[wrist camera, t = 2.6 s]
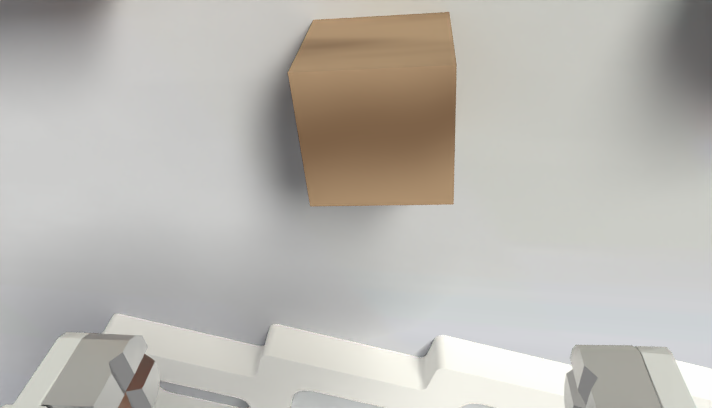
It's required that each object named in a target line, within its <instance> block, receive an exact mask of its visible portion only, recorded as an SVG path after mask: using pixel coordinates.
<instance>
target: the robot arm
mask: <svg viewBox="0 0 712 408" xmlns="http://www.w3.org/2000/svg"><path fill="white" fill-rule="evenodd" d="M147 348H148V345H147V343H146V342H145V340H144V338H143V336H140V335H121V334H102V333H79V332H66V333H64V334H63V335H62V336H60V337H59V338H58V339H57V340H56V342H55V343H54V345H53V346H52V348H51V349H50V351H49V352H48V354H47V355H46V356H45V358H44V359H43V361H42V362H41V364H40V365H39V367H38V368H37V370H36V371H35V373H34V374H33V376H32V377H31V379H30V380H29V382H28V383H27V385H26V386H25V388H24V389H23V391H22V392H21V394H20V395H19V397H18V398H17V399H16V401H15V402H14V404H6V405H4V406H3V407H2V408H153V405H154V403H155V400H156V398H157V396H158V391H159V384H160V374H159V368H158V366H157V364H156V362H155V360H153V359H152V358H150V357H149V356H147V355H146V354H145V352H146V350H147ZM570 360H571V364H572V368H573V369H572V370H571V371H569V372H568V373H566V378H565V383H564V404H565V408H696V405H695V403H694V401H693V399H692V397H691V394H690V392H689V390H688V388H687V385H686V383H685V381H684V379H683V376H682V374H681V372H680V370H679V367H678V365H677V363H676V361H675V359H674V356H673V354H672V352H671V351H670V350H669V349H668V348H667V347H645V346H635V347H634V346H630V345H575V346H574V347H573V348H572V352H571V356H570Z"/></svg>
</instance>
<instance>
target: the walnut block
mask: <svg viewBox="0 0 712 408" xmlns="http://www.w3.org/2000/svg"><path fill="white" fill-rule="evenodd" d="M288 77H289V83H290V89H291V95H292V101H293V107H294V113H295V118H296V124H297V130H298V136H299V142H300V148H301V154H302V160H303V166H304V172H305V178H306V184H307V190H308V196H309V202H310V206H368V205H439V204H453V201H454V155H455V109H456V58H455V51H454V43H453V36H452V29H451V21H450V14H449V12H444V13H426V14H409V15H391V16H374V17H356V18H339V19H321V20H313V22H312V24H311V26H310V28H309V30H308V32H307V34H306V36H305V38H304V40H303V42H302V44H301V47H300V49H299V51H298V53H297V55H296V57H295V59H294V61H293V63H292V65H291V67H290V69H289V71H288Z"/></svg>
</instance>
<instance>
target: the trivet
mask: <svg viewBox="0 0 712 408" xmlns="http://www.w3.org/2000/svg"><path fill="white" fill-rule="evenodd" d="M102 334H121V335H140V336H143V338H144V340H145V342H146V343H147V345H148V348H147V350H146V352H145V354H146V355H147V356H149V357H150V358H152V359H153V360H155V362H156V364H157V366H158V368H159V374H160V381H163V382H168V383H172V384H177V385H181V386H186V387H190V388H195V389H199V390H204V391H208V392H213V393H217V394H222V395H226V396H231V397H235V398H239V399H242V400H244V401H245V402H247V403H248V405H249V406H250V407H247V408H290V407H291V404H292V400H293V397H294V395H295V394H296V393H297V392H299V391H313V392H318V393H322V394H327V395H331V396H335V397H340V398H344V399H349V400H353V401H358V402H362V403H366V404H371V405H375V406H380V407H384V408H461V407H462V406H464V405H467V404H474V403H475V404H482V405H486V406H491V407H495V408H565V404H564V383H565V378H566V373H568V372H569V371H571V370H572V369H573V368H572V365H568V364H564V363H560V362H556V361H551V360H547V359H543V358H539V357H534V356H530V355H526V354H522V353H517V352H513V351H509V350H505V349H501V348H496V347H492V346H488V345H484V344H479V343H475V342H471V341H467V340H462V339H458V338H454V337H450V336H445V335H439V336H437V337H436V338H435V339H434V341H433V343H432V345H431V347H430V349H429V351H428V353H427V355H425V356H423V357H417V356H412V355H408V354H404V353H399V352H395V351H391V350H387V349H382V348H378V347H374V346H369V345H365V344H361V343H357V342H352V341H348V340H344V339H339V338H335V337H331V336H326V335H322V334H318V333H314V332H309V331H305V330H301V329H296V328H292V327H288V326H283V325H279V324H273V325H271V326H270V328H269V332H268V335H267V338H266V342H265V345H263V346H258V345H254V344H249V343H245V342H241V341H236V340H232V339H228V338H223V337H219V336H215V335H210V334H206V333H201V332H197V331H193V330H188V329H184V328H180V327H175V326H171V325H167V324H162V323H158V322H154V321H149V320H145V319H141V318H136V317H132V316H127V315H123V314H114V315H113V316H112V318H111V320H110V321H109V323H108V325H107V326H106V328H105V330H104V331H103V333H102ZM675 361H676V363H677V365H678V367H679V370H680V372H681V374H682V376H683V379H684V381H685V383H686V385H687V388H688V390H689V392H690V394H691V397H692V399H693V401H694V403H695V405H696V408H712V369H710V368H706V367H702V366H697V365H693V364H689V363H685V362H681V361H677V360H675ZM153 408H240V407H235V406H231V405H226V404H222V403H217V402H213V401H208V400H204V399H199V398H195V397H190V396H186V395H181V394H177V393H172V392H168V391H166V390H164V389H162V388H161V387H160V386H159V391H158V396H157V398H156V400H155V403H154V405H153Z"/></svg>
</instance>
